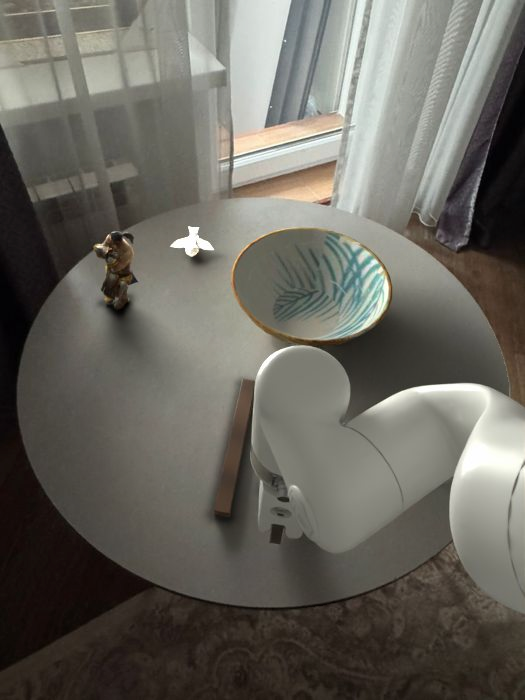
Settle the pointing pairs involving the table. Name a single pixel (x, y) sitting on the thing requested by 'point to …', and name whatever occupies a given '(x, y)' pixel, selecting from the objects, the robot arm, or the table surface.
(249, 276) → the bowl
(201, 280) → the table surface
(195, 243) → the toy bird
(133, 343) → the table surface
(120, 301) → the figurine
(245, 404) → the rail
